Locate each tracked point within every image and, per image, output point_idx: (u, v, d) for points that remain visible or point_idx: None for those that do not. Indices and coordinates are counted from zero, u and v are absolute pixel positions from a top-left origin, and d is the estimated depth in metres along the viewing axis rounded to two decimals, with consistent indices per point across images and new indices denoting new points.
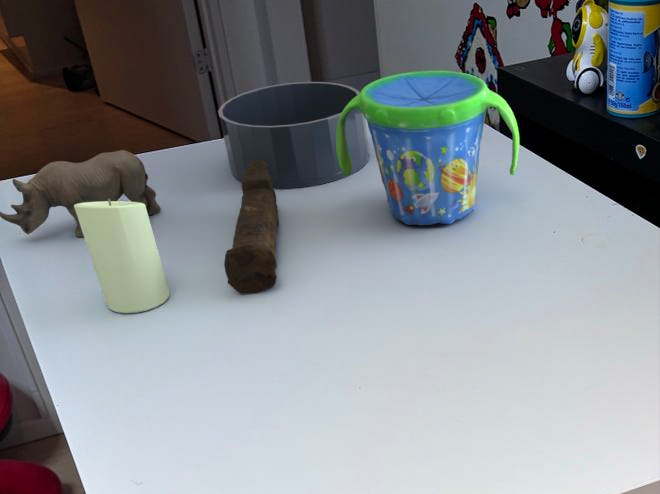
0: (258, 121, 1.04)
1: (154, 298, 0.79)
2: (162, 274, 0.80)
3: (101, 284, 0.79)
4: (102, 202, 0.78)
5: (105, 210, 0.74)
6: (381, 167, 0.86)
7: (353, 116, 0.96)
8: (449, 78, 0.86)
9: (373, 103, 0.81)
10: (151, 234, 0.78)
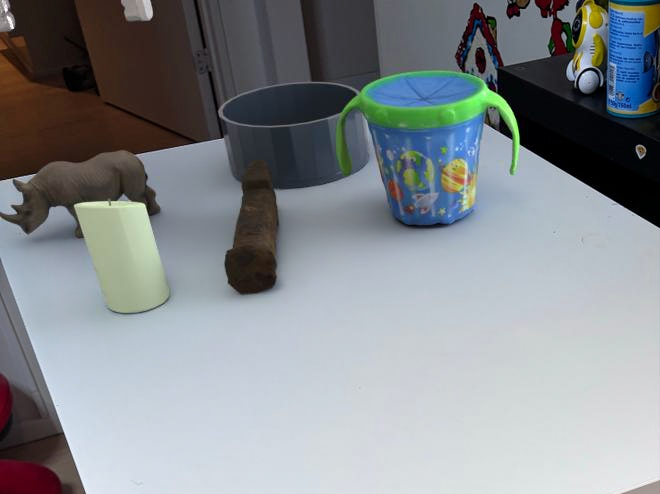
0: (258, 121, 1.04)
1: (154, 298, 0.79)
2: (162, 274, 0.80)
3: (101, 284, 0.79)
4: (102, 202, 0.78)
5: (105, 210, 0.74)
6: (381, 167, 0.86)
7: (353, 116, 0.96)
8: (449, 78, 0.86)
9: (373, 103, 0.81)
10: (151, 234, 0.78)
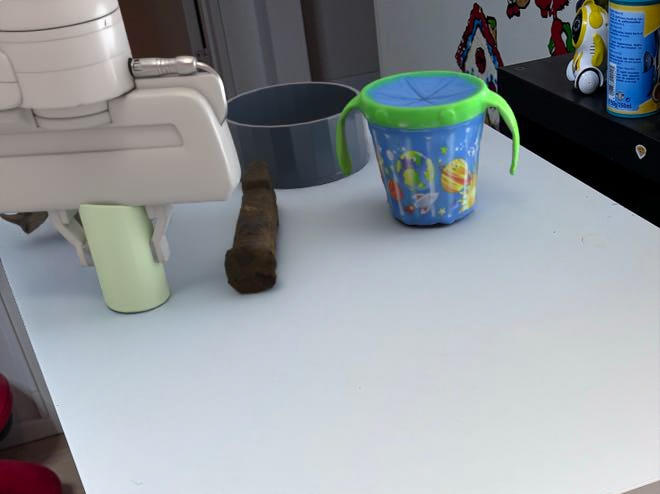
0: (258, 121, 1.04)
1: (154, 298, 0.79)
2: (163, 274, 0.80)
3: (101, 283, 0.78)
4: None
5: (108, 210, 0.74)
6: (381, 167, 0.86)
7: (353, 116, 0.96)
8: (449, 78, 0.86)
9: (373, 103, 0.81)
10: None
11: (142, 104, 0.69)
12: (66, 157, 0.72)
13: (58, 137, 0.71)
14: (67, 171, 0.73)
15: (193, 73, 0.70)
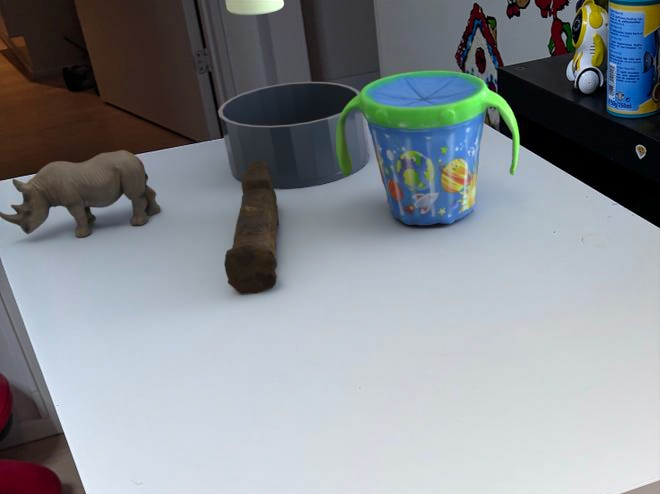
0: (258, 121, 1.04)
1: (272, 1, 0.88)
2: None
3: None
4: None
5: None
6: (381, 167, 0.86)
7: (353, 116, 0.96)
8: (449, 78, 0.86)
9: (373, 103, 0.81)
10: None
11: None
12: None
13: None
14: None
15: None
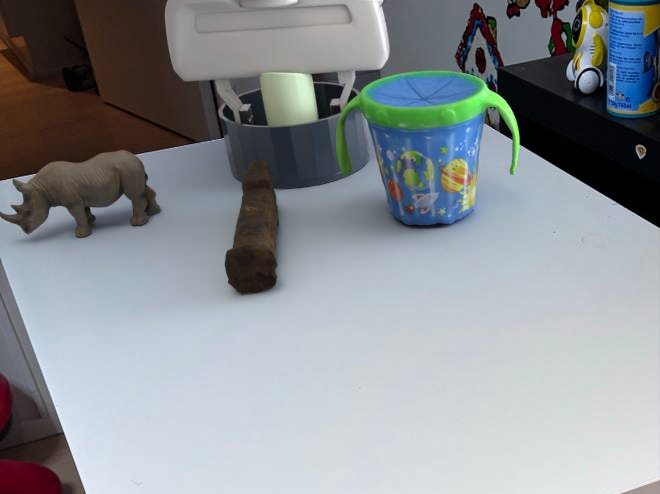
0: (258, 121, 1.04)
1: None
2: None
3: None
4: None
5: (285, 76, 0.94)
6: (381, 167, 0.86)
7: (353, 116, 0.96)
8: (449, 78, 0.86)
9: (373, 103, 0.81)
10: (315, 100, 0.98)
11: None
12: (259, 32, 0.93)
13: (254, 16, 0.92)
14: (259, 44, 0.93)
15: None
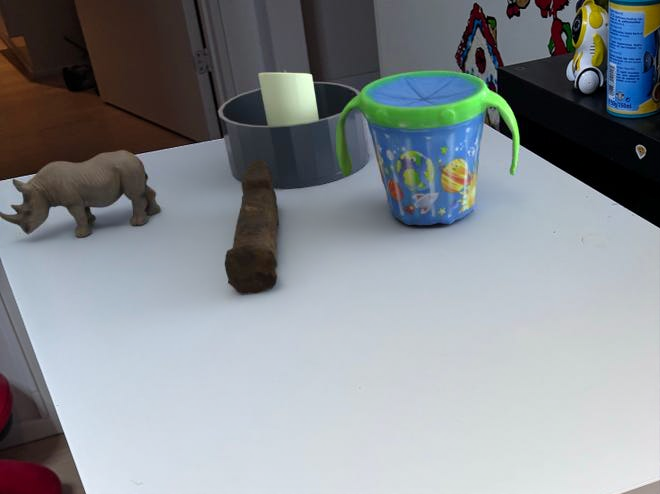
0: (258, 121, 1.04)
1: None
2: None
3: None
4: None
5: (285, 76, 0.94)
6: (381, 167, 0.86)
7: (353, 116, 0.96)
8: (449, 78, 0.86)
9: (373, 103, 0.81)
10: (315, 100, 0.98)
11: None
12: None
13: None
14: None
15: None
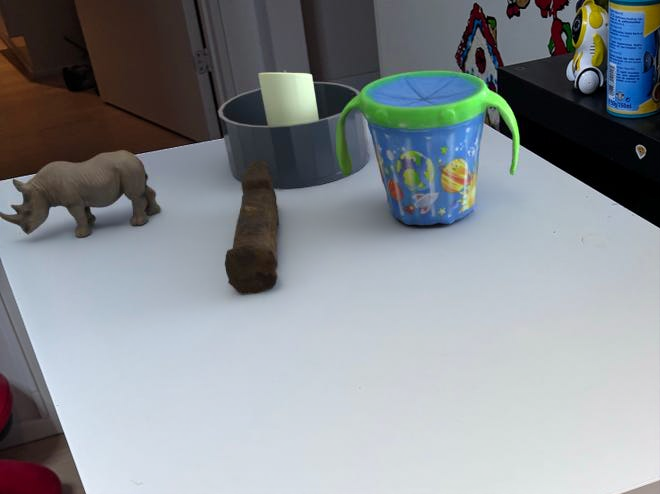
0: (258, 121, 1.04)
1: None
2: None
3: None
4: None
5: (285, 76, 0.94)
6: (381, 167, 0.86)
7: (353, 116, 0.96)
8: (449, 78, 0.86)
9: (373, 103, 0.81)
10: (315, 100, 0.98)
11: None
12: None
13: None
14: None
15: None
